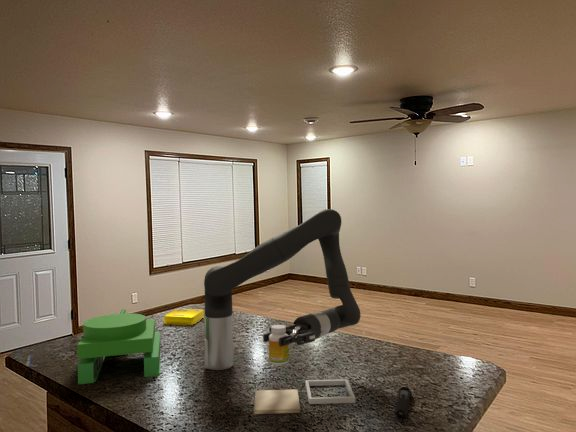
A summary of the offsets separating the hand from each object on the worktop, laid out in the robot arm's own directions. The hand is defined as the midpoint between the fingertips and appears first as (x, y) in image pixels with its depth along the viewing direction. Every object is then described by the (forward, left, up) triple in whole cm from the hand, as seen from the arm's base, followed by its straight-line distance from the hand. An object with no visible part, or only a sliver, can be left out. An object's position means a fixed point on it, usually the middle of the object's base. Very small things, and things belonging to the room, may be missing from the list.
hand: (272, 340), depth 117 cm
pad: (+1, +2, -18) cm, 18 cm away
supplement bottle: (+2, +2, -7) cm, 7 cm away
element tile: (-41, +90, -18) cm, 101 cm away
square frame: (+16, +7, -18) cm, 25 cm away
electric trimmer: (+35, -2, -18) cm, 40 cm away
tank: (-52, +38, -18) cm, 67 cm away
